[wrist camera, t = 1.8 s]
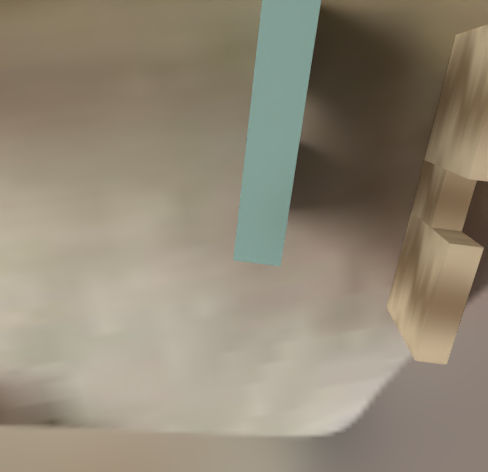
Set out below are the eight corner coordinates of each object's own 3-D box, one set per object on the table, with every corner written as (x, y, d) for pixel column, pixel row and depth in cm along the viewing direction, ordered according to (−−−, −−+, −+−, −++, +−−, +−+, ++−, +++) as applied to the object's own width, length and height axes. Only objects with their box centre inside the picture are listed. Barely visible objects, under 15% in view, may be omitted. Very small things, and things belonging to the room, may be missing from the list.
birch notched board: (455, 34, 27) (515, 15, 20) (487, 38, 27) (556, 20, 20) (386, 307, 34) (415, 360, 27) (411, 311, 34) (446, 364, 27)
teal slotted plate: (245, 205, 32) (233, 260, 21) (270, -4, 27) (269, -65, 17) (277, 209, 32) (280, 266, 21) (307, 0, 27) (330, -58, 17)
